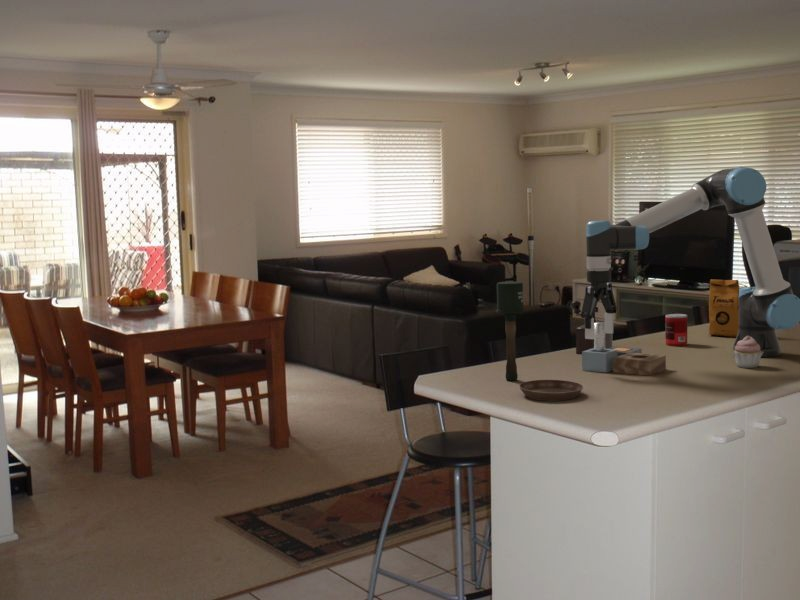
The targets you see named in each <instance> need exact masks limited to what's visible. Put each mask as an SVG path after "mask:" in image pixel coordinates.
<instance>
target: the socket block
mask: <svg viewBox="0 0 800 600" xmlns="http://www.w3.org/2000/svg"><path fill="white" fill-rule="evenodd" d="M666 360H667V355H666V354H654V353H643V352H642V353H627V354H624V355H621V356H618V357H615V358H614V370H613V373H618V374H620V373H622V374H629V375H638V376H640V375H641V376H653V375H655V374H658V373H660V372H663V371H665V370H667V368H666V367H667V365H666V364H667V361H666Z"/></svg>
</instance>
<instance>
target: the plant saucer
mask: <svg viewBox="0 0 800 600" xmlns="http://www.w3.org/2000/svg"><path fill="white" fill-rule="evenodd" d="M518 387H519V388H520V390H521V392H522V393H523V395H524V396H526V397H527V398H529V399H533V400H536V401H546V402H547V401H550V402H551V401H552V402H553V401H554V402H556V401H567V400H572V399H574V398H576V397H577V396H578V395H580V393H581V392H582V391H583V389H584V386H583V385H582V384H581V383H578V382H576V381H575V382H574V381H569V380H563V379H562V380H561V379H536V380H534V379H533V380H528V381H525V382H521V383H520V384H518Z"/></svg>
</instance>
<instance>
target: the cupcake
mask: <svg viewBox="0 0 800 600" xmlns="http://www.w3.org/2000/svg"><path fill="white" fill-rule="evenodd" d="M731 352H732V355H733V356H734V359H735V365H736V367H738V368H742V369H757V368H759V366H760V362H761V358H762V357H761V356H762V354H763V352H762V351H760V346H759V344H758V343H757V342H756V341H755V340H754V339H753V338H752V337H750V336H746V337H745V338H743V340H740V341H738V342H737V345H736V346H735V350H734V351H733V350H732V351H731Z"/></svg>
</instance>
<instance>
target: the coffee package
mask: <svg viewBox="0 0 800 600" xmlns="http://www.w3.org/2000/svg"><path fill="white" fill-rule="evenodd" d="M739 291H740V282H739V279H712V278H711V279H710V281H709V297H708V315H709V316H708V320H709V325H708V335H710V336H711V335H712V336H715V337H716V336H717V337H727V338H733V337H734V338H736V337H737V334H738V331H739V300H738V297H739Z"/></svg>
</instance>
